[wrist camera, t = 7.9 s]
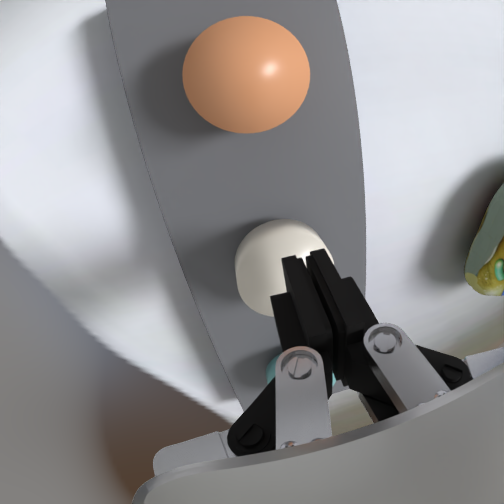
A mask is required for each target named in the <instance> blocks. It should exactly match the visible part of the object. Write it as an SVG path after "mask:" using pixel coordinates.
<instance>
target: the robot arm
mask: <svg viewBox="0 0 504 504" xmlns="http://www.w3.org/2000/svg"><path fill="white" fill-rule="evenodd" d="M305 259H306V266H305V263H304V261H303V259H302V257H301V258H297V257H296V255H293V256H288V257H284V258H281V261H282V267H283V273H284V279H285V285H286V291H287V292H285V293H281V294H277V295H272V296H270V300H271V305H272V309H273V314H274V318H275V323H276V327H277V331H278V336H279V340H280V344H281V348H282V354H281V355H280V356H279V358H278V359H277V361H276V366H275V377H274V378H273V379H272V380H271V381H270V383H269V384H268V385H267V386H266V387H265V389H264V390H263V391H262V392H261V393H260V394H259V396H258V397H257V398H256V399H255V400H254V401H253V403H252V404H251V405H250V406H249V407H248V408H247V409H246V411H245V412H244V413H243V414H242V415H241V416H240V417H239V418H238V420H237V421H236V422H235V423H234V424H233V425H232V427H231V428H230V429H229V430H226V431H224V432H221V433H219V432H218V431H217V432H214V433H211V434H208V435H205V436H202V437H198V438H195V439H192V440H189V441H185V442H183V443H179V444H175V445H172V446H168V447H165V448H163V449H161V450H160V451H159V452H158V453H157V454H156V455H155V457H154V460H153V467H154V472H155V477H154V478H152V479H150V480H148V481H147V482H146V483H144V484H143V485H142V486H141V487H140V488H139V489H138V490H137V492H136V494H135V496H134V498H133V501H132V504H504V347H502V348H498V349H495V350H491V351H487V352H483V353H479V354H475V355H470V356H466V357H465V359H464V360H461V359H458V358H456V357H453V356H450V355H447V354H443V353H440V352H437V351H434V350H431V349H427V348H424V347H421V346H418V345H415V344H414V343H413V342H412V341H411V339H410V338H409V337H408V336H407V335H406V333H405V332H404V331H403V330H402V329H401V328H400V327H398V326H396V325H394V324H390V323H380V324H379V323H378V321H377V319H376V317H375V316H374V314H373V312H372V310H371V308H370V307H369V305H368V303H367V301H366V300H365V298H364V296H363V294H362V293H361V291H360V289H359V288H358V286H357V284H356V282H355V281H354V279H353V278H352V277H351V276H350V277H346V278H342V279H341V277H340V275H339V273H338V271H337V270H336V268H335V266H334V264H333V263H332V261H331V259H330V257H329V255H328V254H327V252H326V250H325V249H324V248H323V249H319V250H314V251H310V255H309V256H306V257H305ZM333 374H334V377H335V379H336V381H338V380H341V381H342V384H343V387H345V386H349V389H352V390H354V391H357V394H358V397H359V399H360V400H361V402H362V404H363V406H364V407H365V409H366V411H367V412H368V414H369V416H370V418H371V419H372V421H373V423H374V424H371V425H368V426H365V427H362V428H359V429H356V430H353V431H349V432H346V433H343V434H339V435H336V436H332V432H331V423H330V414H329V405H328V399H329V398H330V396H331V395H332V384H333Z"/></svg>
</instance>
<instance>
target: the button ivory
mask: <svg viewBox="0 0 504 504" xmlns="http://www.w3.org/2000/svg"><path fill="white" fill-rule="evenodd" d="M323 248H324V249H325V250H326V252H327V254H328V255H329V257H330V259H331V261H332V263H333V264H334V261H333V258H332V256H331V254H330V252H329V250H328V249H327V247H326V246H325V244H324V243H323V241H322V240H321V238H320V237H319V235H318V234H317V233H316V232H315V231H314V230H313V229H312V228H311V227H310V226H308V225H307V224H305V223H303V222H300V221H297V220H292V219H278V220H272V221H269V222H266V223H264V224H261V225H259V226H258V227H256V228H254V229H253V230H252V231H251V232H249V233H248V234H247V235H246V236H245V238H244V239H243V240H242V241H241V243H240V245H239V247H238V249H237V251H236V255H235V272H236V280H237V286H238V291H239V294H240V296H241V298H242V300H243V301H244V302H245V304H246V305H247V306H249V307H250V308H251V309H252V310H254V311H256V312H258V313H260V314H263V315H266V316H272V317H274V314H273V309H272V305H271V300H270V296H272V295H277V294H281V293H285V292H287V291H286V285H285V279H284V273H283V267H282V261H281V258H284V257H288V256H293V255H296V257H297V258H301V257H302V259H303V261H304V263H305V266H306V259H305V257H306V256H309V255H310V251H314V250H319V249H323Z"/></svg>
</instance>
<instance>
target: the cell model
mask: <svg viewBox="0 0 504 504" xmlns="http://www.w3.org/2000/svg"><path fill="white" fill-rule="evenodd" d="M464 275H465V278H466V281H467V282H468V284H469V285H470V286H472V288H473V289H474V290H475V291H477V292H478V293H480V294H483V295H488V296H491V295H492V296H503V295H504V183H503V184H502V186H501V187H500V188H499V189H498V191H497V192H496V194H495V195H494V197H493V198H492V200H491V202H490V204H489V206H488V208H487V210H486V212H485V215H484V217H483V220H482V222H481V225H480V227H479V230H478V232H477V234H476V236H475V238H474V240H473V242H472V245H471V247H470V250H469V253H468V256H467V259H466V262H465V267H464Z"/></svg>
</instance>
